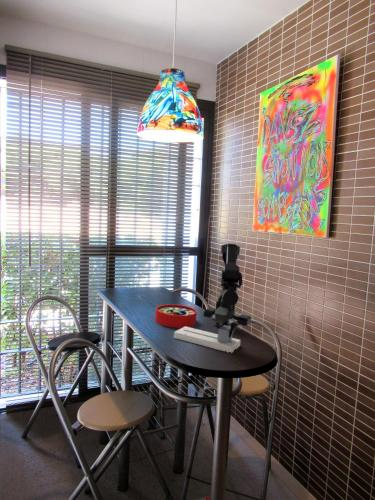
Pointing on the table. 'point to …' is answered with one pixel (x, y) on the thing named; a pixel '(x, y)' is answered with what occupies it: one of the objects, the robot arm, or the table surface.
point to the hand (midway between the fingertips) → (225, 336)
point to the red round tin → (175, 316)
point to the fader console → (206, 339)
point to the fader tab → (224, 334)
